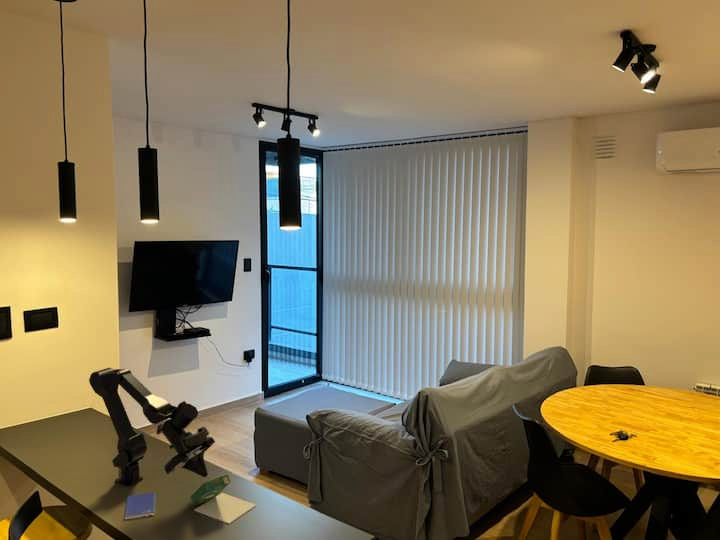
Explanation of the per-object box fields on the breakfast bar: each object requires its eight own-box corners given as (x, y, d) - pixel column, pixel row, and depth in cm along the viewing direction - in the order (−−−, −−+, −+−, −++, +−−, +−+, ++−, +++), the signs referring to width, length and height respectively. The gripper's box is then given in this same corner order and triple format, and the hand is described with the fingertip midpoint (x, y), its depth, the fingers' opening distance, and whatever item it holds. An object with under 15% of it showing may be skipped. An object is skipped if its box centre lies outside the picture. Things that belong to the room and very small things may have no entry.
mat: (194, 510, 167) (194, 509, 167) (222, 493, 178) (222, 492, 178) (229, 524, 160) (229, 523, 160) (256, 505, 171) (256, 504, 171)
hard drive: (154, 511, 164) (155, 492, 176) (124, 516, 162) (127, 495, 173) (154, 516, 164) (155, 496, 176) (124, 521, 162) (127, 500, 173)
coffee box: (213, 488, 177) (228, 473, 169) (216, 497, 175) (231, 482, 167) (189, 496, 171) (203, 481, 163) (192, 505, 170) (206, 490, 162)
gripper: (171, 432, 165) (202, 474, 162) (210, 412, 182) (238, 450, 179) (151, 453, 168) (180, 495, 165) (191, 431, 185) (218, 469, 182)
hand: (206, 476), depth 173 cm, fingers closed
